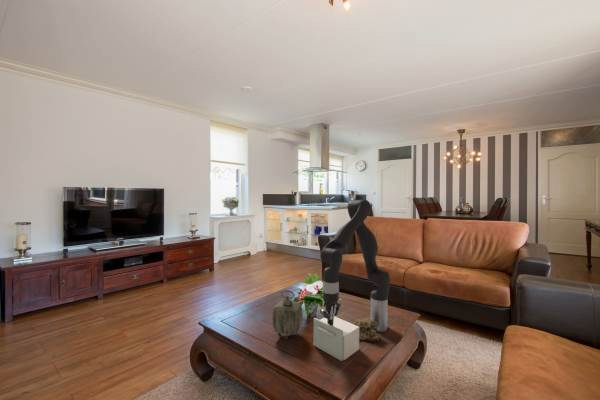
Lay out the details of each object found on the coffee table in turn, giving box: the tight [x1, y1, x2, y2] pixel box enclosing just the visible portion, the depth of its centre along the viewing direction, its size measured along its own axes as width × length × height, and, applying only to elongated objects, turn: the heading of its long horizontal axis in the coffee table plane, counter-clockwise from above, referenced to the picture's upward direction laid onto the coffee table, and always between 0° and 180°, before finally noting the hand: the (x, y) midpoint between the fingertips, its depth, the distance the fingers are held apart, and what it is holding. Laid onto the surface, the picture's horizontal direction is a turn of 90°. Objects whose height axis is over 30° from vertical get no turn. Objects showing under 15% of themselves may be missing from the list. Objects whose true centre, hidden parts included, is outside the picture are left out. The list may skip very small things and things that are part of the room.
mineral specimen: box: [352, 317, 380, 343], centre depth 145 cm, size 14×13×10 cm
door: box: [312, 317, 344, 362], centre depth 129 cm, size 2×17×14 cm, turn 44°
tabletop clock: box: [272, 290, 304, 340], centre depth 144 cm, size 14×9×25 cm, turn 77°
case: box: [319, 316, 360, 361], centre depth 135 cm, size 12×18×12 cm, turn 44°
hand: (330, 325), depth 131 cm, fingers closed
